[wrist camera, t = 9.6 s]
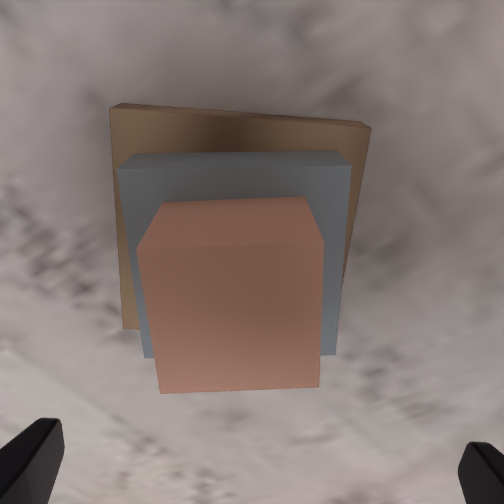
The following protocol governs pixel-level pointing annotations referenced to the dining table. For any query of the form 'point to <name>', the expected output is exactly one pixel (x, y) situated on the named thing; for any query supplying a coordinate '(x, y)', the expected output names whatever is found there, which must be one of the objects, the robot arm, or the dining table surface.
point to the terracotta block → (234, 294)
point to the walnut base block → (223, 140)
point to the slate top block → (241, 187)
